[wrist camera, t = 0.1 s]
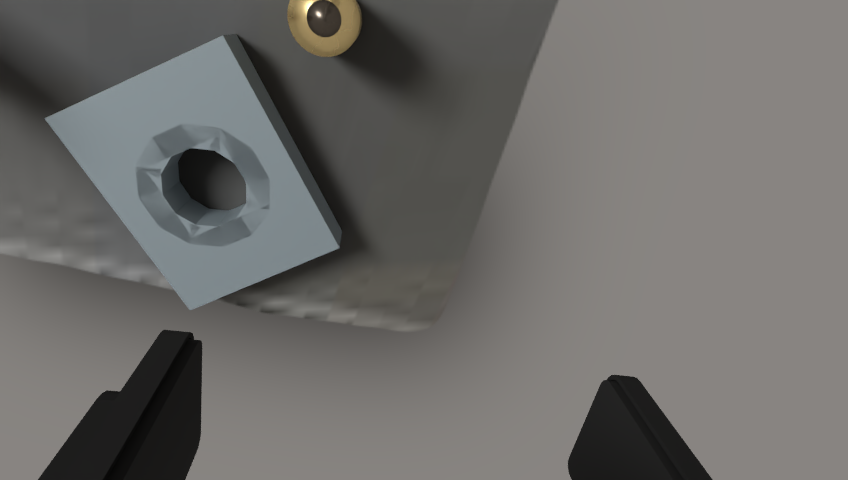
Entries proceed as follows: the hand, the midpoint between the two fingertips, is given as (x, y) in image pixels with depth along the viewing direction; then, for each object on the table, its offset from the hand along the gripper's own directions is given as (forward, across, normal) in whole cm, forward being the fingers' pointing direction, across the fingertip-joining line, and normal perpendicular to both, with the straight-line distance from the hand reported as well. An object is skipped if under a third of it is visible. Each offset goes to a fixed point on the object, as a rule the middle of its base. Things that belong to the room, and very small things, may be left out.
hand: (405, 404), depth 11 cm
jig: (+37, +14, +8) cm, 41 cm away
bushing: (+37, +5, -7) cm, 38 cm away
